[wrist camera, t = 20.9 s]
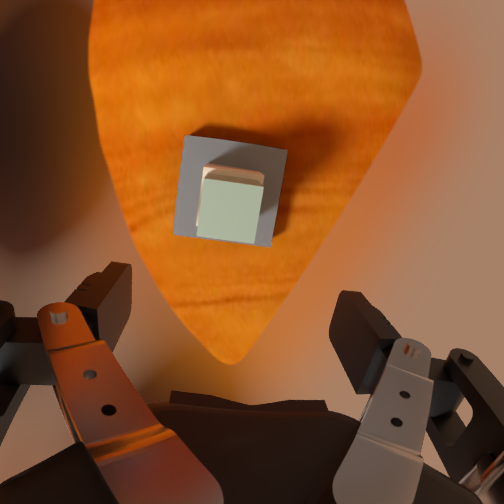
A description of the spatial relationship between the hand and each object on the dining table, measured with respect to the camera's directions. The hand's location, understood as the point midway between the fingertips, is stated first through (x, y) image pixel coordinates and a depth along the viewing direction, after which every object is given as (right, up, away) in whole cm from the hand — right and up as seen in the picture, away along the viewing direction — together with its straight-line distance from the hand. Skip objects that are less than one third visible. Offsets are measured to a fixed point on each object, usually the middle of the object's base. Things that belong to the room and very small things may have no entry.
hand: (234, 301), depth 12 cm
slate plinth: (-2, +10, +28) cm, 30 cm away
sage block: (-2, +7, +20) cm, 21 cm away
